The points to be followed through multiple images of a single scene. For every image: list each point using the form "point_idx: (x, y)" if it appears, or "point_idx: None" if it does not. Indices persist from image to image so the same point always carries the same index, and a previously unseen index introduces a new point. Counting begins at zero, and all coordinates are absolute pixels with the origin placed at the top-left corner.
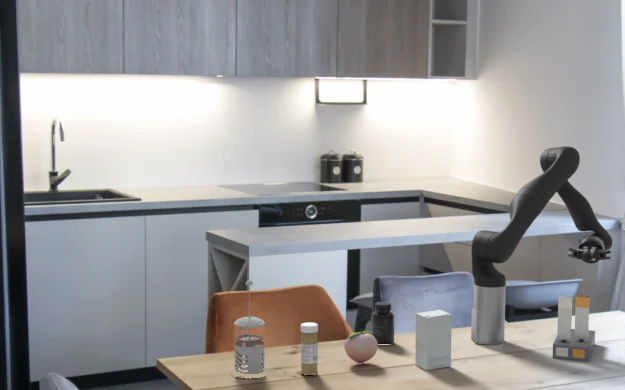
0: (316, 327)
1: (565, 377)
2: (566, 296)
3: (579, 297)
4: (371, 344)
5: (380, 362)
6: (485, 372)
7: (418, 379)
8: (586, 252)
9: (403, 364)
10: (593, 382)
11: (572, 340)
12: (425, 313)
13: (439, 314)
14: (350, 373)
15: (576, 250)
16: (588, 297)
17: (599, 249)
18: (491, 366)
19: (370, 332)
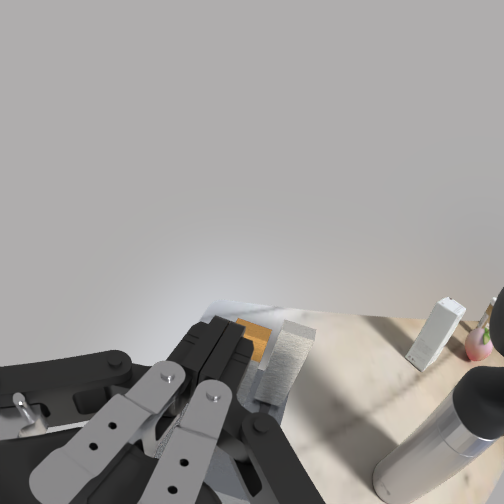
0: (492, 299)
1: (274, 323)
2: (296, 333)
3: (261, 327)
4: (470, 332)
5: (461, 365)
6: (366, 343)
7: (412, 327)
8: (215, 368)
9: (444, 362)
10: (243, 306)
11: (249, 399)
12: (458, 305)
13: (445, 300)
14: (459, 339)
15: (286, 443)
16: (239, 319)
17: (3, 484)
18: (365, 361)
19: (483, 335)
